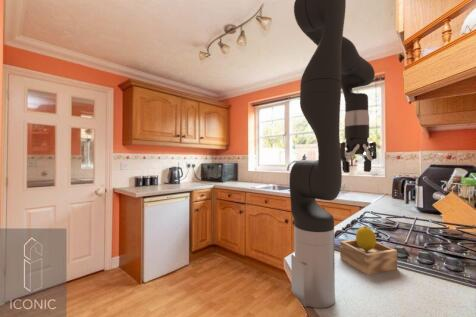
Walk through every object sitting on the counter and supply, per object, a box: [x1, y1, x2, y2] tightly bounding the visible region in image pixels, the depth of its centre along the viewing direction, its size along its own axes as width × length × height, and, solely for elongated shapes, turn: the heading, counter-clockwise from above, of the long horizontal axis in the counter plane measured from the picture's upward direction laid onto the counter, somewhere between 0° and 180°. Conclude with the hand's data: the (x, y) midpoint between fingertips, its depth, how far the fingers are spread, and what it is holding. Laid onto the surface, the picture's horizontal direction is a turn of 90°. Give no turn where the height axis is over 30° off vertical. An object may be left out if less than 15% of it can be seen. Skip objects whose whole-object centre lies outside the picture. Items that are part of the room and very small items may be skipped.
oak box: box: [339, 238, 398, 276], centre depth 72 cm, size 11×11×6 cm
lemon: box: [355, 225, 377, 252], centre depth 72 cm, size 6×6×8 cm
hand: (357, 172), depth 79 cm, fingers open, 8 cm apart
